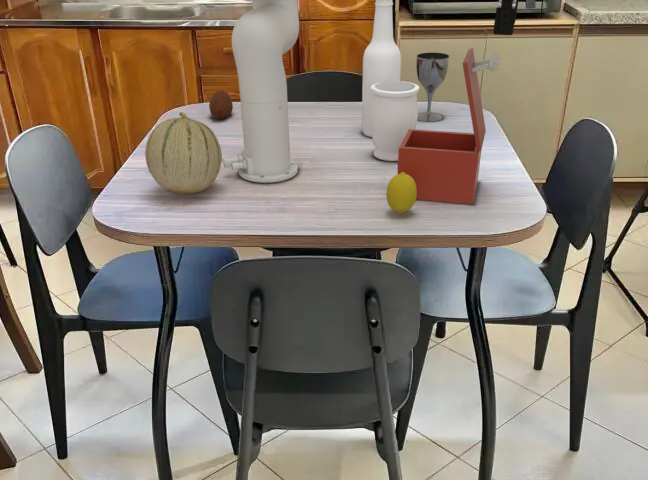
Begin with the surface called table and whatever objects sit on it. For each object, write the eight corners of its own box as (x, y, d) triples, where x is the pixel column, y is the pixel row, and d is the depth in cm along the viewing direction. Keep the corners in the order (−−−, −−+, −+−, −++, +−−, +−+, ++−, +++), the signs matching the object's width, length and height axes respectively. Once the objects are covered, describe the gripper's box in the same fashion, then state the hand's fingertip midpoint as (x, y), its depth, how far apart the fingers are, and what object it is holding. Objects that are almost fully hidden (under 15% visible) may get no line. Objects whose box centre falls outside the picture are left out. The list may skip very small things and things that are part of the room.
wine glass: (448, 115, 177) (454, 54, 168) (436, 123, 172) (441, 60, 163) (420, 111, 181) (425, 51, 172) (407, 119, 175) (411, 57, 167)
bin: (396, 197, 133) (398, 147, 127) (405, 176, 142) (408, 128, 136) (472, 204, 129) (478, 153, 124) (477, 182, 139) (483, 133, 133)
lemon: (381, 210, 128) (382, 169, 123) (408, 206, 129) (410, 165, 125) (392, 221, 123) (394, 179, 119) (420, 217, 125) (423, 175, 120)
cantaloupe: (155, 210, 130) (142, 131, 121) (148, 183, 141) (136, 109, 133) (231, 200, 133) (223, 123, 124) (218, 174, 145) (211, 102, 136)
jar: (412, 164, 148) (417, 93, 139) (365, 162, 149) (367, 91, 141) (416, 148, 156) (421, 80, 147) (372, 146, 158) (374, 79, 149)
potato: (206, 123, 175) (204, 97, 172) (213, 110, 185) (211, 85, 181) (230, 122, 175) (227, 97, 171) (235, 110, 185) (233, 85, 181)
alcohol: (395, 139, 162) (402, -1, 145) (359, 137, 163) (361, -1, 146) (398, 128, 169) (405, -7, 152) (363, 126, 170) (366, -7, 153)
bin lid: (462, 63, 116) (495, 55, 114) (468, 49, 125) (499, 41, 123) (476, 151, 124) (508, 145, 121) (481, 132, 133) (511, 126, 131)
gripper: (500, -92, 114) (485, 19, 124) (493, -87, 101) (478, 37, 111) (546, -92, 113) (527, 21, 123) (546, -86, 99) (525, 40, 109)
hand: (504, 29), depth 117 cm, fingers open, 9 cm apart
